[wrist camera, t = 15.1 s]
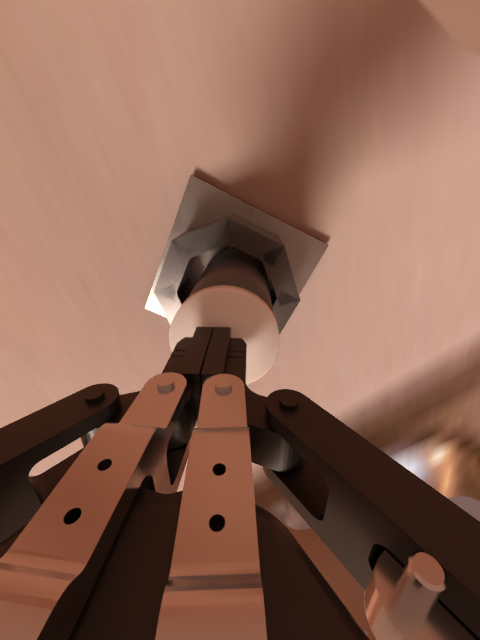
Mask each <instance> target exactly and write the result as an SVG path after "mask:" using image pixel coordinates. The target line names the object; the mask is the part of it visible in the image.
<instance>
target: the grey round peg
mask: <svg viewBox="0 0 480 640" xmlns="http://www.w3.org/2000/svg"><path fill="white" fill-rule="evenodd" d="M196 327H231V338H242V339H243V340H244V341H245V343H246V344H247V356H246V385H247V384H250V383H252V382H254V381H256V380H258V379H259V378H261V377H262V376H263V375H265V374H266V373H267V372H268V371H269V369H270V368H271V367H272V365H273V364H274V362H275V360H276V358H277V355H278V352H279V347H280V338H279V331H278V326H277V322H276V319H275V316H274V314H273V309H272V303H271V297H270V291H269V286H268V280H267V274H266V270H265V268H264V266H263V264H262V263H261V261H260V260H259V259H257V258H255V257H253V256H251V255H249V254H247V253H245V252H243V251H241V250H239V249H229V250H225V251H222V252H220V253H219V254H217V255H216V256H214V257H213V258H212V259H211V261H210V262H209V264H208V265H207V267H206V269H205V270H204V272H203V274H202V275H201V277H200V279H199V280H198V282H197V284H196V285H195V287H194V289H193V290H192V292H191V294H190V295H189V297H188V298H187V299H186V300H185V302H184V303H183V304H182V305H181V307H180V308H179V310H178V311H177V313H176V314H175V316H174V318H173V320H172V323H171V326H170V330H169V344H170V349H171V352H173V351H174V348H175V346H176V344H177V343H178V342H179V341H180V340H182V339H183V338H184V337H193V335H194V332H195V330H196Z"/></svg>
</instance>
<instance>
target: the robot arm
mask: <svg viewBox="0 0 480 640" xmlns="http://www.w3.org/2000/svg"><path fill="white" fill-rule="evenodd" d="M246 356H247V344H246V343H245V341H244V340H243V339H242V338H231V327H196V330H195V332H194V335H193V337H184V338H183V339H182V340H180V341H179V342H178V343H177V344H176V346H175V348H174V351H173V352H172V354H171V357H170V358H169V360H168V362H167V364H166V366H165V368H164V370H163V372H162V374H158V375H156V376H154V377H152V378H151V379H149V380H148V381H147V382H146V384H145V385H144V387H143V388H142V390H141V391H138V392H134V393H128V394H123V395H119V391H118V388H117V387H116V386H114V385H112V384H96V385H92V386H89V387H87V388H85V389H83V390H80V391H78V392H76V393H74V394H72V395H70V396H68V397H66V398H64V399H61V400H59V401H57V402H55V403H53V404H51V405H49V406H47V407H45V408H42V409H40V410H38V411H36V412H34V413H32V414H30V415H28V416H26V417H23V418H21V419H19V420H17V421H15V422H13V423H11V424H9V425H7V426H4V427H2V428H0V640H369V638H368V637H367V635H366V634H365V633H364V631H363V630H362V629H361V627H360V626H359V625H358V623H357V622H356V621H355V619H354V618H353V617H352V615H351V614H350V612H349V611H348V610H347V608H346V607H345V606H344V604H343V603H342V602H341V600H340V599H339V598H338V596H337V595H336V594H335V592H334V591H333V590H332V588H331V587H330V585H329V584H328V583H327V581H326V580H325V579H324V577H323V576H322V575H321V573H320V572H319V571H318V569H317V568H316V566H315V565H314V564H313V562H312V561H311V560H310V558H309V557H308V556H307V554H306V553H305V551H304V550H303V549H302V548H301V546H300V545H299V544H298V542H297V541H296V539H295V538H294V537H293V535H292V534H291V533H290V531H289V530H288V529H287V528H286V527H285V526H284V525H283V524H282V522H281V521H280V520H278V519H277V518H276V517H275V516H274V515H272V514H271V513H270V512H268V511H267V510H265V509H264V508H262V507H260V506H258V505H256V504H255V499H254V487H253V474H252V462H253V463H255V464H258V465H261V466H263V470H264V472H265V474H266V476H267V477H268V478H269V479H270V480H271V482H272V483H273V484H274V485H275V486H276V487H277V489H278V490H279V491H280V492H281V493H282V494H283V496H284V497H285V498H286V499H287V500H288V501H289V502H290V504H291V505H292V506H293V507H294V508H295V509H296V511H297V512H298V513H299V514H300V515H301V516H302V518H303V519H304V520H305V521H306V522H307V523H308V525H309V526H310V527H311V528H312V529H313V530H314V532H315V533H316V534H317V535H318V536H319V537H320V539H321V540H322V541H323V542H324V543H325V544H326V545H327V547H328V548H329V549H330V550H331V551H332V552H333V554H334V555H335V556H336V557H337V558H338V559H339V561H340V562H341V563H342V564H343V565H344V566H345V568H346V569H347V570H348V571H349V572H350V573H351V574H352V576H353V577H354V578H355V579H356V580H357V581H358V583H359V584H360V585H361V586H362V587H363V588H364V590H365V598H364V605H365V611H366V616H367V619H368V622H369V625H370V627H371V630H372V631H373V634H374V635H375V637H376V639H377V640H480V522H479V521H478V520H476V519H475V518H473V517H472V516H471V515H469V514H468V513H467V512H465V511H464V510H463V509H461V508H460V507H458V506H457V505H456V504H454V503H453V502H452V501H450V500H449V499H447V498H446V497H445V496H443V495H442V494H440V493H439V492H438V491H436V490H435V489H434V488H432V487H431V486H429V485H428V484H427V483H425V482H424V481H422V480H421V479H420V478H418V477H417V476H416V475H414V474H413V473H411V472H410V471H409V470H407V469H406V468H404V467H403V466H402V465H400V464H399V463H398V462H396V461H395V460H393V459H392V458H391V457H389V456H388V455H386V454H385V453H384V452H382V451H381V450H380V449H378V448H377V447H375V446H374V445H373V444H371V443H370V442H369V441H367V440H366V439H364V438H363V437H362V436H360V435H359V434H357V433H356V432H355V431H353V430H352V429H351V428H349V427H348V426H346V425H345V424H344V423H342V422H341V421H339V420H338V419H337V418H335V417H334V416H333V415H331V414H330V413H328V412H327V411H326V410H324V409H323V408H321V407H320V406H319V405H317V404H316V403H315V402H313V401H312V400H310V399H309V398H308V397H306V396H305V395H303V394H302V393H300V392H297V391H294V390H289V389H282V390H277V391H274V392H272V393H271V394H270V395H269V396H268V397H264V396H261V395H258V394H256V393H254V392H252V391H251V390H250V389H249V388H248V387H247V385H246ZM195 426H197V428H194V427H195ZM80 437H81V440H82V443H83V446H84V448H83V449H81V450H79V451H78V452H76V453H74V454H73V455H71V456H70V457H68V458H66V459H65V460H63V461H61V462H60V463H58V464H57V465H55V466H53V467H52V468H50V469H48V470H47V471H45V472H44V473H42V474H40V475H38V476H33V477H31V476H29V472H30V470H31V469H32V467H33V466H34V465H35V464H36V463H38V462H39V461H41V460H42V459H44V458H46V457H47V456H49V455H51V454H53V453H54V452H56V451H58V450H59V449H61V448H63V447H65V446H66V445H68V444H70V443H71V442H73V441H75V440H76V439H78V438H80ZM187 459H188V462H187ZM186 462H187V468H186V475H185V481H184V487H183V491H180V492H177V489H178V486H179V483H180V480H181V477H182V474H183V471H184V468H185V465H186Z"/></svg>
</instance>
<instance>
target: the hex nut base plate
mask: <svg viewBox="0 0 480 640" xmlns="http://www.w3.org/2000/svg"><path fill="white" fill-rule="evenodd" d="M327 247H328V244H326V243H324V242H322V241H320V240H318V239H316V238H314V237H312V236H310V235H308V234H306V233H304V232H302V231H300V230H298V229H296V228H295V227H293V226H291V225H289V224H287V223H285V222H283V221H281V220H279V219H277V218H275V217H273V216H271V215H269V214H267V213H265V212H263V211H261V210H259V209H257V208H255V207H253V206H252V205H250V204H248V203H246V202H244V201H242V200H240V199H238V198H236V197H234V196H232V195H230V194H228V193H226V192H224V191H222V190H220V189H218V188H216V187H214V186H212V185H210V184H208V183H207V182H205V181H203V180H201V179H199V178H197V177H195V176H193V175H191V176H190V179H189V181H188V184H187V187H186V190H185V193H184V196H183V199H182V202H181V205H180V207H179V210H178V213H177V216H176V219H175V222H174V225H173V228H172V231H171V234H170V236H169V239H168V242H167V245H166V248H165V251H164V254H163V257H162V260H161V263H160V265H159V268H158V271H157V274H156V277H155V280H154V283H153V286H152V289H151V292H150V294H149V297H148V300H147V303H146V306H145V308H146V309H148V310H150V311H153V312H155V313H157V314H160V315H162V316H164V317H167V319H168V321H169V323H170V325H171V323H172V320H173V318H174V316H175V314H176V313H177V311H178V310H179V308H180V307H181V305H182V304H183V303H184V302H185V300H186V299H187V298H188V297H189V295H190V294H191V292H192V290H193V289H194V287H195V285H196V284H197V282H198V280H199V279H200V277H201V275H202V274H203V272H204V270H205V269H206V267H207V265H208V264H209V262H210V261H211V259H212V258H213V257H214V256H216V255H217V254H219V253H220V252H222V251H225V250H229V249H239V250H241V251H243V252H245V253H247V254H249V255H251V256H253V257H255V258H257V259H259V260H260V261H261V263H262V264H263V266H264V268H265V270H266V274H267V280H268V286H269V291H270V297H271V303H272V309H273V314H274V316H275V319H276V322H277V326H278V331H279V334H280V333H281V331H282V329H283V328H284V326H285V325H286V323H287V321H288V320H289V318H290V316H291V315H292V313H293V311H294V310H295V308H296V306H297V305H298V303H299V301H300V298H299V294H300V292H301V291H302V289H303V287H304V286H305V284H306V282H307V280H308V279H309V277H310V275H311V274H312V272H313V270H314V269H315V267H316V265H317V264H318V262H319V260H320V259H321V257H322V255H323V254H324V252H325V250H326V249H327Z"/></svg>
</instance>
